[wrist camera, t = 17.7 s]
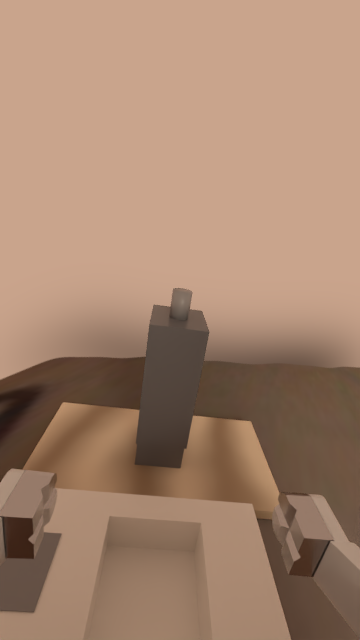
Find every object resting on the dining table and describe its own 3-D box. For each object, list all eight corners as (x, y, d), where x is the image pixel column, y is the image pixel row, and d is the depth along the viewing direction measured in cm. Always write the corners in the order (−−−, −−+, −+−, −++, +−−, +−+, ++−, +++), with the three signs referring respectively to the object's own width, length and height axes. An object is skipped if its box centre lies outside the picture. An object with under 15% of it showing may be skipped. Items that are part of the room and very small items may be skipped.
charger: (180, 432, 27) (206, 287, 22) (181, 472, 22) (214, 303, 18) (139, 428, 26) (156, 280, 22) (132, 468, 22) (152, 295, 17)
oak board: (249, 427, 30) (250, 421, 30) (284, 520, 21) (287, 512, 20) (63, 408, 29) (62, 402, 28) (9, 499, 19) (9, 491, 19)
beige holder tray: (238, 546, 19) (252, 502, 17) (284, 767, 11) (315, 720, 10) (-8, 529, 17) (-14, 481, 16) (-145, 764, 10) (-178, 711, 9)
